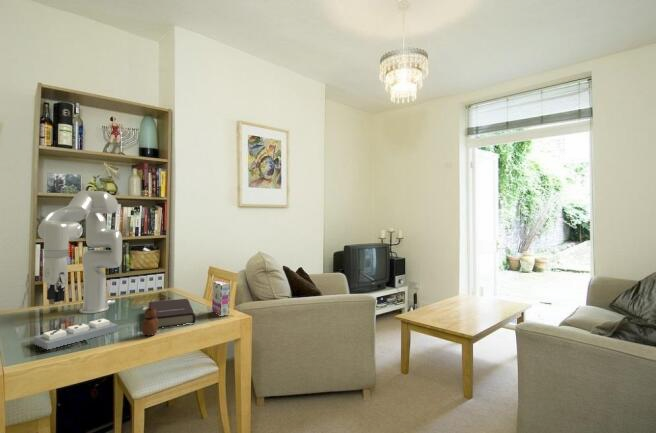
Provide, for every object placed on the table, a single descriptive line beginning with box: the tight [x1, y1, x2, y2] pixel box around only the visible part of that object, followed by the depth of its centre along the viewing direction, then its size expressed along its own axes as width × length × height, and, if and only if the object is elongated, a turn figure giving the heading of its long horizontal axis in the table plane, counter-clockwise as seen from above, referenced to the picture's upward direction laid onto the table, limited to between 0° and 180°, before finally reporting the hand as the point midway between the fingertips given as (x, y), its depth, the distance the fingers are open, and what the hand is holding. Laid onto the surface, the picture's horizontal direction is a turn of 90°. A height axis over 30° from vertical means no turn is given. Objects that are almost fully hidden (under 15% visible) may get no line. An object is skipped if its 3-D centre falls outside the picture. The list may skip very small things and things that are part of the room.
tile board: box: [33, 321, 119, 350], centre depth 138 cm, size 25×12×3 cm, turn 150°
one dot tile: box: [88, 318, 111, 328], centre depth 145 cm, size 6×6×3 cm
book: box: [148, 298, 196, 329], centre depth 166 cm, size 28×20×6 cm
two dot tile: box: [67, 323, 89, 334], centre depth 138 cm, size 6×6×3 cm
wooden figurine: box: [141, 303, 159, 336], centre depth 143 cm, size 7×6×15 cm
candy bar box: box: [211, 280, 231, 315], centre depth 174 cm, size 11×5×16 cm, turn 41°
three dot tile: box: [42, 328, 67, 341], centre depth 131 cm, size 6×6×3 cm
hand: (55, 299), depth 131 cm, fingers open, 5 cm apart
